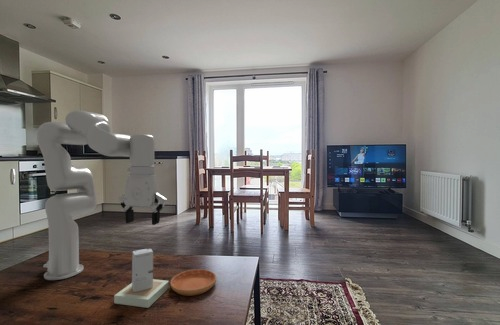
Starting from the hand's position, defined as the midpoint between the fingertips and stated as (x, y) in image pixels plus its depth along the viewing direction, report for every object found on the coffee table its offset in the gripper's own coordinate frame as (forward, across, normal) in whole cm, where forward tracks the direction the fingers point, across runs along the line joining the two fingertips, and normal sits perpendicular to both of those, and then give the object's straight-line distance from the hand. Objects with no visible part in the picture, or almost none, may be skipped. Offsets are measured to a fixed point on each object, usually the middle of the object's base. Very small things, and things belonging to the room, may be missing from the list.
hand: (142, 223), depth 82 cm
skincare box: (+22, 0, 0) cm, 22 cm away
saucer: (+25, +14, +9) cm, 30 cm away
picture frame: (+24, 0, 0) cm, 24 cm away
